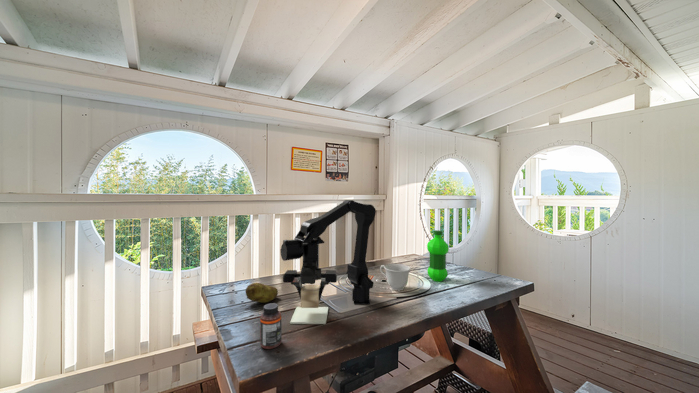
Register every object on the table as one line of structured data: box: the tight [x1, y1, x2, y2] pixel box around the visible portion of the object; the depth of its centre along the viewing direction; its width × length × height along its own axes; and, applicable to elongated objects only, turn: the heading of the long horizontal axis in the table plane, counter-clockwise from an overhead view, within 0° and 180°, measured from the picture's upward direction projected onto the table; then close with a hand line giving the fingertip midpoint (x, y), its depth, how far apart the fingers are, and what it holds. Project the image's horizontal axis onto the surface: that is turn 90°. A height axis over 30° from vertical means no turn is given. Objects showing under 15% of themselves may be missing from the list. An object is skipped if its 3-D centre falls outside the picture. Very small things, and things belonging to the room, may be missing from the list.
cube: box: [300, 284, 321, 308], centre depth 96 cm, size 6×6×6 cm
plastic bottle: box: [426, 229, 450, 283], centre depth 137 cm, size 10×10×25 cm
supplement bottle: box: [259, 302, 282, 350], centre depth 78 cm, size 6×6×11 cm
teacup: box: [379, 263, 412, 292], centre depth 124 cm, size 12×15×10 cm
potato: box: [245, 282, 279, 304], centre depth 108 cm, size 8×13×8 cm, turn 116°
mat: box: [289, 306, 329, 325], centre depth 96 cm, size 12×12×1 cm
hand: (310, 299), depth 96 cm, fingers closed on cube, 6 cm apart
